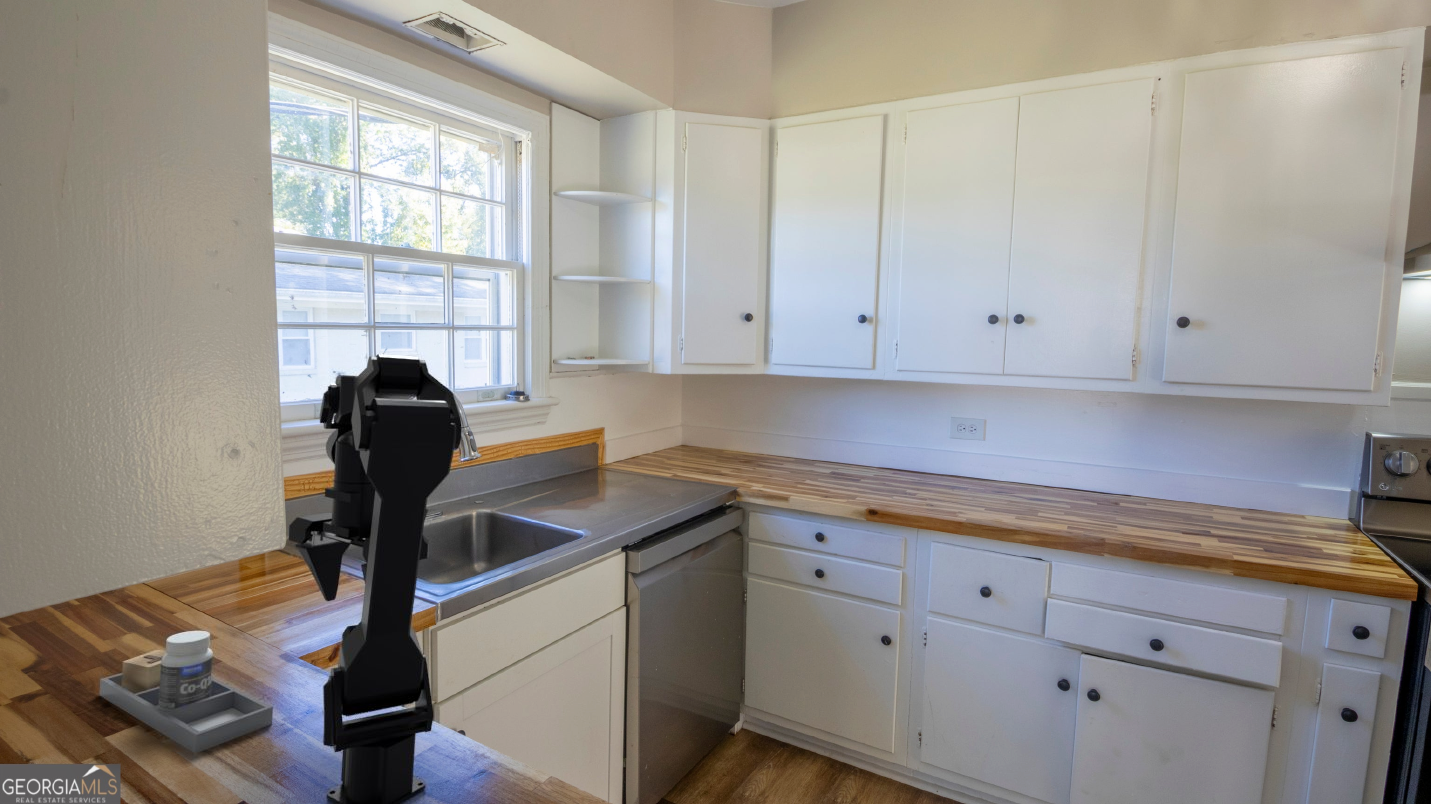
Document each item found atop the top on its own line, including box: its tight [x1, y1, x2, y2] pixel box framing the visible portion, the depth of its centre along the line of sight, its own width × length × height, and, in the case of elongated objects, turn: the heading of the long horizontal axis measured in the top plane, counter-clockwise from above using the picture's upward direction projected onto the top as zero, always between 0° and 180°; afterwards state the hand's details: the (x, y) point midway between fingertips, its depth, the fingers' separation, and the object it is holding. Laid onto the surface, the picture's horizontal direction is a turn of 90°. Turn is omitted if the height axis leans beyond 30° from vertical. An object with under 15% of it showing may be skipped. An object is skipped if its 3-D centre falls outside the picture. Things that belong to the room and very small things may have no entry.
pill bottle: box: [158, 630, 214, 712], centre depth 78 cm, size 5×5×8 cm
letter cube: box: [121, 649, 167, 694], centre depth 82 cm, size 4×4×4 cm
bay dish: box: [99, 672, 274, 755], centre depth 78 cm, size 22×8×3 cm, turn 62°
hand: (353, 608), depth 83 cm, fingers open, 9 cm apart
